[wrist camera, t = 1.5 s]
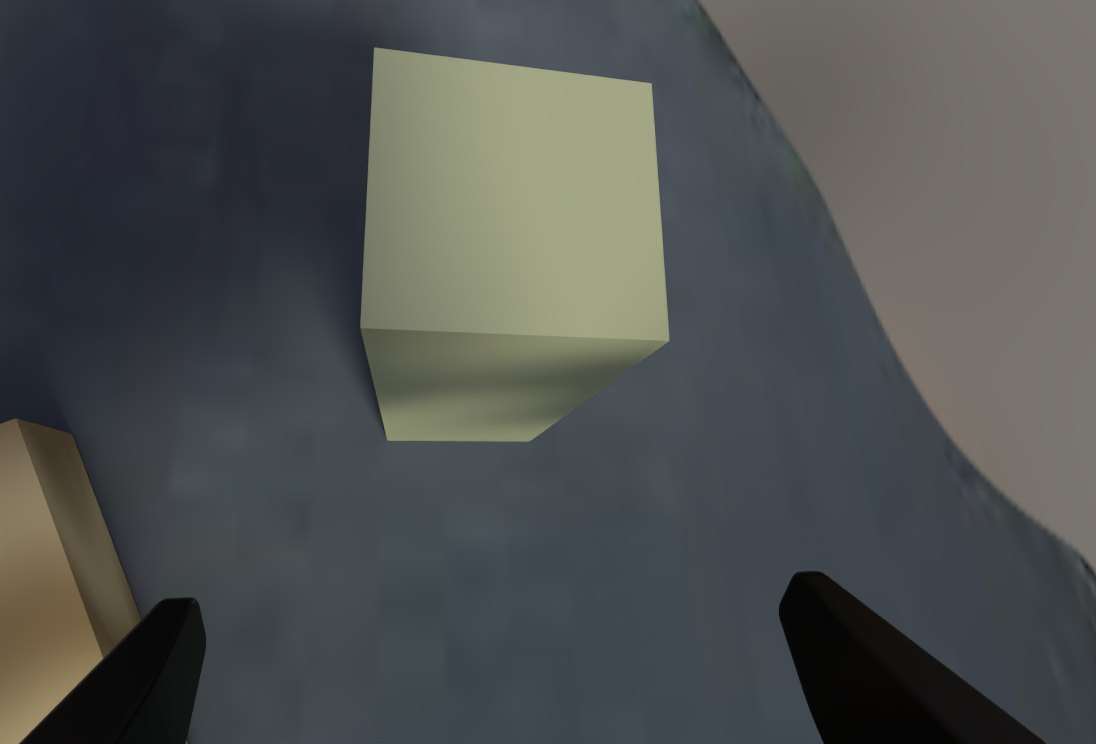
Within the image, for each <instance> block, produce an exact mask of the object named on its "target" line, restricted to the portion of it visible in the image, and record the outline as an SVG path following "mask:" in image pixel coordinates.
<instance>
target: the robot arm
mask: <svg viewBox="0 0 1096 744" xmlns="http://www.w3.org/2000/svg"><path fill="white" fill-rule="evenodd" d="M779 617H780V621H781V624H782V627H783V630H784V633H785V637H786V640H787V643H788V646H789V649H790V652H791V655H792V658H793V661H794V664H795V667H796V670H797V674H798V677H799V680H800V683H801V686H802V689H803V692H804V695H805V698H806V701H807V704H808V706H809V709H810V712H811V714H812V717H813V719H814V722H815V724H816V727H817V729H818V731H819V734H820V736H821V738H822V740H823V743H824V744H1046V743H1045V741H1043V740H1042V739H1041V738H1039V737H1038V736H1037V735H1036V734H1034V733H1033V732H1032V731H1030V730H1029V729H1028V728H1026V727H1025V726H1024V725H1022V724H1021V723H1020V722H1018V721H1017V720H1016V719H1015V718H1013V717H1012V716H1011V715H1009V714H1008V713H1007V712H1005V711H1004V710H1003V709H1001V708H1000V707H999V706H997V705H996V704H995V703H993V702H992V701H991V700H990V699H988V698H987V697H986V696H984V695H983V694H982V693H980V692H979V691H978V690H976V689H975V688H974V687H972V686H971V685H970V684H969V683H967V682H966V681H965V680H963V679H962V678H961V677H959V676H958V675H957V674H955V673H954V672H953V671H951V670H950V669H949V668H948V667H946V666H945V665H944V664H942V663H941V662H940V661H938V660H937V659H936V658H934V657H933V656H932V655H930V654H929V653H928V652H926V651H925V650H924V649H923V648H921V647H920V646H919V645H917V644H916V643H915V642H913V641H912V640H911V639H909V638H908V637H907V636H905V635H904V634H903V633H902V632H900V631H899V630H898V629H896V628H895V627H894V626H892V625H891V624H890V623H888V622H887V621H886V620H884V619H883V618H882V617H881V616H879V615H878V614H877V613H875V612H874V611H873V610H871V609H870V608H869V607H867V606H866V605H865V604H863V603H862V602H861V601H859V600H858V599H857V598H856V597H854V596H853V595H852V594H850V593H849V592H848V591H846V590H845V589H844V588H842V587H841V586H840V585H838V584H837V583H836V582H835V581H833V580H832V579H831V578H829V577H828V576H827V575H825V574H824V573H822V572H818V571H805V572H797V573H796V574H794V575H793V577H792V579H791V581H790V583H789V585H788V587H787V589H786V591H785V594H784V596H783V598H782V600H781V602H780V605H779ZM205 650H206V633H205V629H204V624H203V620H202V615H201V611H200V606H199V603H198V601H197V600H196V599H195V598H191V597H188V598H168V599H164V600H162V601H160V602H159V603H158V604H157V605H156V606H155V607H154V608H153V609H152V610H151V611H150V612H149V613H148V614H147V615H146V616H145V617H144V618H143V619H142V620H141V621H140V622H139V623H138V624H137V625H136V626H135V627H134V628H133V629H132V630H131V631H130V632H129V633H128V634H127V635H126V636H125V637H124V638H123V639H122V640H121V641H120V642H119V643H118V644H117V645H116V646H115V647H114V648H113V649H112V650H111V651H110V652H109V653H108V654H107V655H106V656H105V657H104V658H103V659H102V660H101V661H100V662H99V663H98V664H97V665H96V666H95V667H94V668H93V669H92V670H91V671H90V672H89V673H88V674H87V675H86V676H85V677H84V678H83V679H82V680H81V681H80V682H79V683H78V684H77V685H76V686H75V687H74V688H73V689H72V690H71V691H70V692H69V693H68V694H67V696H66V697H65V698H64V699H63V700H62V701H61V702H60V703H59V704H58V705H57V706H56V707H55V708H54V709H53V710H52V711H51V712H50V713H49V714H48V715H47V716H46V717H45V718H44V719H43V720H42V721H41V722H40V723H39V724H38V725H37V726H36V727H35V728H34V729H33V730H32V731H31V732H30V733H29V734H28V735H27V736H26V737H25V738H24V739H23V740H22V741H21V742H20V743H19V744H186V740H187V735H188V730H189V726H190V721H191V716H192V712H193V707H194V702H195V698H196V693H197V688H198V684H199V679H200V674H201V670H202V665H203V660H204V656H205Z"/></svg>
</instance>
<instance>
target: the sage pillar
mask: <svg viewBox="0 0 1096 744" xmlns="http://www.w3.org/2000/svg"><path fill="white" fill-rule="evenodd" d="M360 329H361V333H362V338H363V342H364V346H365V350H366V354H367V358H368V362H369V367H370V371H371V375H372V379H373V383H374V387H375V391H376V396H377V400H378V404H379V408H380V412H381V416H382V420H383V424H384V429H385V433H386V437H387V441H531V440H532V439H533V438H535V437H536V436H538V435H539V434H540V433H542V432H543V431H545V430H546V429H547V428H549V427H550V426H552V425H553V424H554V423H556V422H557V421H559V420H560V419H561V418H563V417H564V416H565V415H567V414H568V413H570V412H571V411H572V410H574V409H575V408H577V407H578V406H579V405H581V404H582V403H584V402H585V401H586V400H588V399H589V398H591V397H592V396H593V395H595V394H596V393H597V392H599V391H600V390H602V389H603V388H604V387H606V386H607V385H609V384H610V383H611V382H613V381H614V380H616V379H617V378H618V377H620V376H621V375H623V374H624V373H625V372H627V371H628V370H629V369H631V368H632V367H634V366H635V365H636V364H638V363H639V362H641V361H642V360H643V359H645V358H646V357H648V356H649V355H650V354H652V353H653V352H655V351H656V350H657V349H659V348H660V347H661V346H663V345H664V344H666V343H667V342H668V341H669V329H668V314H667V300H666V285H665V271H664V257H663V242H662V228H661V214H660V199H659V185H658V170H657V156H656V142H655V127H654V113H653V98H652V84H651V83H643V82H636V81H628V80H620V79H613V78H605V77H597V76H590V75H582V74H574V73H567V72H559V71H551V70H544V69H536V68H528V67H521V66H513V65H505V64H498V63H490V62H482V61H475V60H467V59H459V58H452V57H444V56H436V55H429V54H421V53H413V52H405V51H398V50H390V49H382V48H375V47H374V62H373V82H372V102H371V122H370V142H369V162H368V182H367V202H366V222H365V242H364V262H363V282H362V302H361V322H360Z"/></svg>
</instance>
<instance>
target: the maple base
mask: <svg viewBox="0 0 1096 744" xmlns="http://www.w3.org/2000/svg"><path fill="white" fill-rule="evenodd" d="M140 621H141V617H140V614H139V612H138V609H137V606H136V604H135V601H134V598H133V596H132V593H131V590H130V588H129V585H128V582H127V580H126V577H125V574H124V572H123V569H122V566H121V564H120V561H119V558H118V556H117V553H116V550H115V548H114V545H113V542H112V540H111V537H110V534H109V532H108V529H107V526H106V524H105V521H104V518H103V516H102V513H101V510H100V508H99V505H98V502H97V500H96V497H95V494H94V492H93V489H92V486H91V484H90V481H89V478H88V476H87V473H86V470H85V468H84V465H83V462H82V460H81V457H80V454H79V451H78V449H77V446H76V443H75V441H74V438H73V435H72V434H70V433H67V432H63V431H59V430H56V429H52V428H49V427H45V426H42V425H38V424H35V423H31V422H27V421H24V420H20V419H17V418H15V419H12V420H10V421H7V422H4V423H1V424H0V744H19V743H20V742H21V741H22V740H23V739H24V738H25V737H26V736H27V735H28V734H29V733H30V732H31V731H32V730H33V729H34V728H35V727H36V726H37V725H38V724H39V723H40V722H41V721H42V720H43V719H44V718H45V717H46V716H47V715H48V714H49V713H50V712H51V711H52V710H53V709H54V708H55V707H56V706H57V705H58V704H59V703H60V702H61V701H62V700H63V699H64V698H65V697H66V696H67V694H68V693H69V692H70V691H71V690H72V689H73V688H74V687H75V686H76V685H77V684H78V683H79V682H80V681H81V680H82V679H83V678H84V677H85V676H86V675H87V674H88V673H89V672H90V671H91V670H92V669H93V668H94V667H95V666H96V665H97V664H98V663H99V662H100V661H101V660H102V659H103V658H104V657H105V656H106V655H107V654H108V653H109V652H110V651H111V650H112V649H113V648H114V647H115V646H116V645H117V644H118V643H119V642H120V641H121V640H122V639H123V638H124V637H125V636H126V635H127V634H128V633H129V632H130V631H131V630H132V629H133V628H134V627H135V626H136V625H137V624H138V623H139V622H140ZM186 744H188V743H187V740H186Z"/></svg>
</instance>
